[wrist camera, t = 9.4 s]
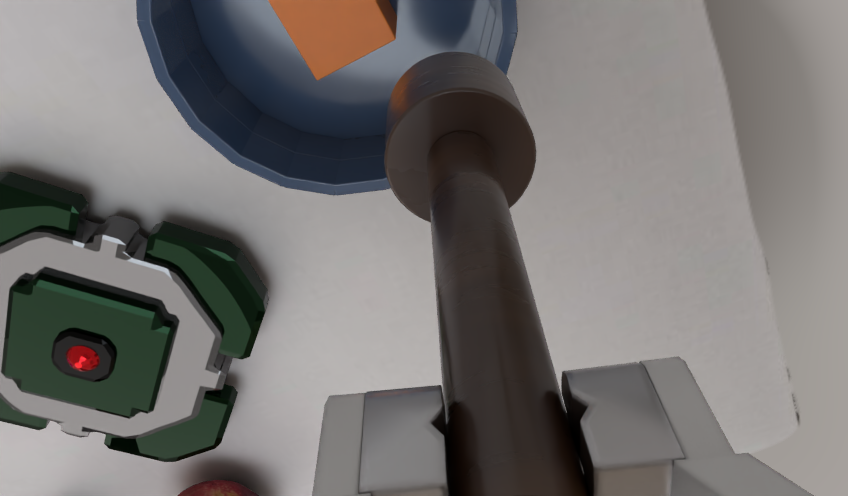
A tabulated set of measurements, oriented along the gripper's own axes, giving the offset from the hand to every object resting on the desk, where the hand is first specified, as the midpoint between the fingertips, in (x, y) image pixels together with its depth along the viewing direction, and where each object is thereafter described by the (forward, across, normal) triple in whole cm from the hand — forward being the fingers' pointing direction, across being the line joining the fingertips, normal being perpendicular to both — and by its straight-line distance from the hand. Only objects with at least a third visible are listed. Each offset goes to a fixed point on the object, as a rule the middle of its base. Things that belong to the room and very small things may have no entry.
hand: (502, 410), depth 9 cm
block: (+27, +4, 0) cm, 27 cm away
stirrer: (+11, 0, 0) cm, 11 cm away
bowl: (+28, +4, 0) cm, 28 cm away
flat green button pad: (+28, +22, +17) cm, 39 cm away
